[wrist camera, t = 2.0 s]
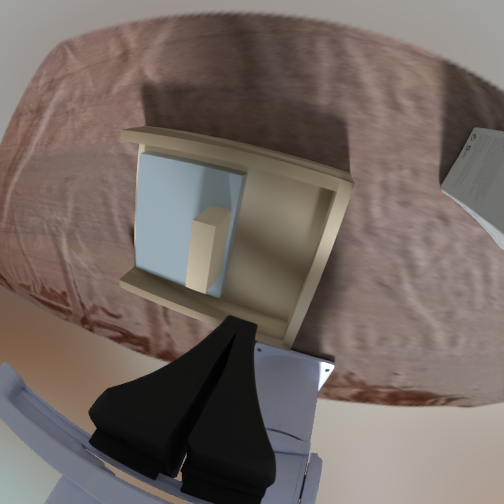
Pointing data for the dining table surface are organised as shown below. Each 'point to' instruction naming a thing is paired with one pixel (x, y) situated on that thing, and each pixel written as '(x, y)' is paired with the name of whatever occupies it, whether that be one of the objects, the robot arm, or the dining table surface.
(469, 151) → the skincare box
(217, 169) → the cover plate
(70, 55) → the dining table surface
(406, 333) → the dining table surface
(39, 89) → the dining table surface
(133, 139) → the birch box
